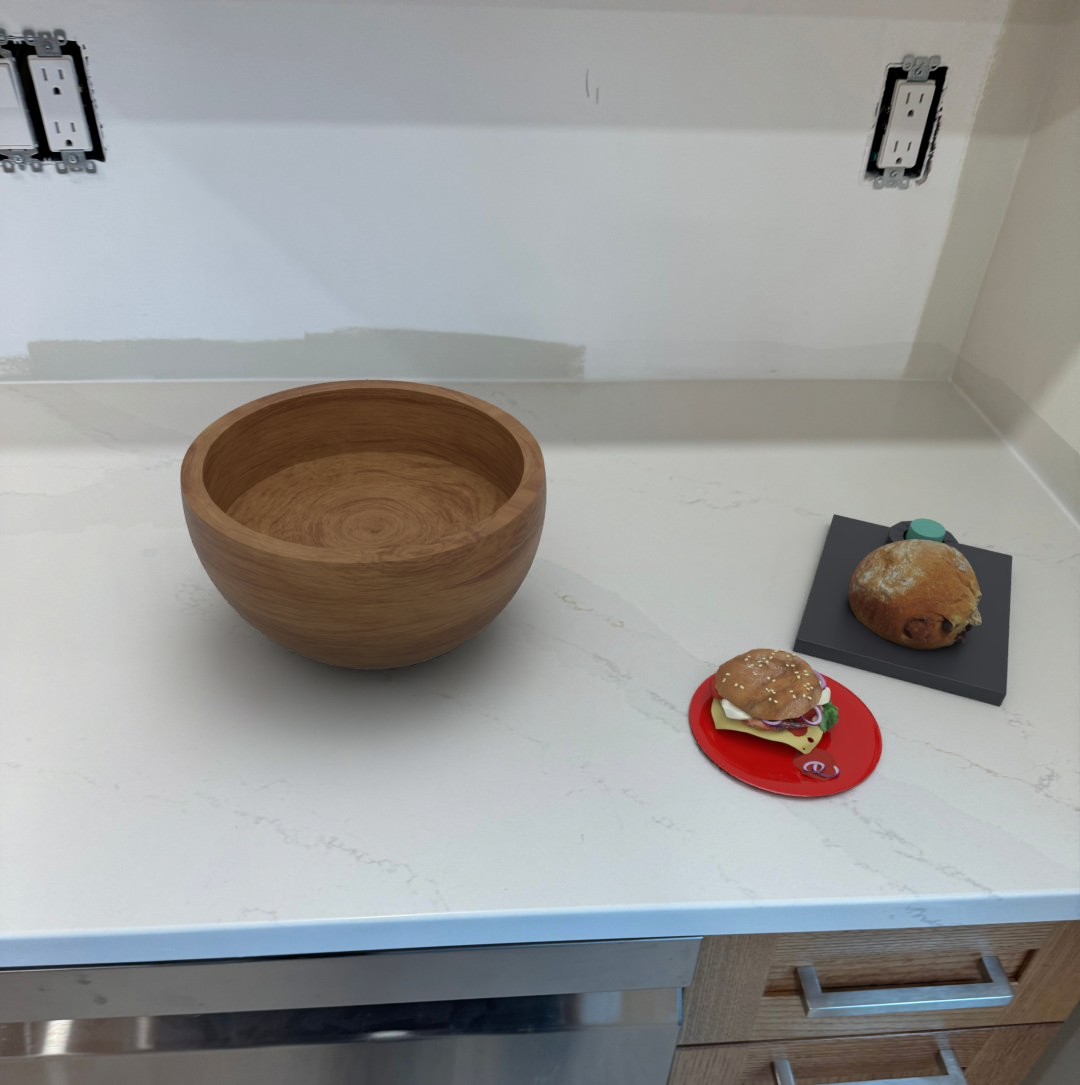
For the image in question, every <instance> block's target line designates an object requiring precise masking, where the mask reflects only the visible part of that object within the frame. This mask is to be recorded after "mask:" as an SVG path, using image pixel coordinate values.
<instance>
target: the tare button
mask: <svg viewBox="0 0 1080 1085" xmlns="http://www.w3.org/2000/svg"><path fill="white" fill-rule="evenodd" d="M911 521H912V522H911V524H910V527H909V529H908V532H907V535H906V538H905V539H906V540H912V539H919V540H931V541H935V542H940V543H942V541H943V538H944V536H945V533H946V530H947V529H946V528H945V527H944V525H943V524H941V523H940V522H938V521H936V520H934V519H930V518H923V517H922V518H915V519H913V520H911Z"/></svg>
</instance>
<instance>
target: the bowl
mask: <svg viewBox="0 0 1080 1085" xmlns="http://www.w3.org/2000/svg"><path fill="white" fill-rule="evenodd" d="M179 472H180V474H179V476H180V478H179V479H180V496H181V504H182V510H183V516H184V520H185V524H186V527H187V530H188V535H189V537H190V540H191V543H192V545H193V548H194V551H195V553H196V555H197V558H198V559H199V561H200V562H199V563H201V565H202V567H203V569H204V571H205V573H206V575H207V576H208V578H209V580H210V581H211V582H212V584H213V585H214V587H215V589H216V590H217V591H218V592H219V594H220V595H221V596H222V597H223V599H224V600H225V601H226V602H227V604H228V605H229V607H231V608H232V609H233V610H234V611H235V612H236V613H237V614H238V615H239V616H240V617H241V618H242V619H243V620H244V621H246V623H247V624H249V626H251V627H252V628H254V629H255V630H256V631H257V632H259V633H260V634H262V635H263V636H264V637H265V638H267V639H269V640H270V641H272V642H273V643H275V644H277V645H279V646H281V647H282V648H283V649H286V650H288V651H290V652H292V653H294V654H296V655H298V656H302V657H303V658H307V659H308V660H312V661H315V662H318V663H320V664H321V663H322V664H326V665H330V666H333V667H338V668H339V667H340V668H345V669H347V668H348V669H355V670H388V669H389V670H390V669H398V668H403V667H408V666H413V665H416V664H420V663H424V662H426V661H430V660H432V659H435V658H439V657H441V656H443V655H445V654H447V653H449V652H450V651H453V650H455V649H457V648H459V647H460V646H462V645H464V644H465V643H467V642H468V641H470V640H471V639H472V638H474V637H475V636H477V635H479V633H481V632H482V631H483V630H484V629H485V628H486V627H488V626H489V625H490V624H491V623H492V622H493V621H494V620H495V619H496V618H498V616H499V615H500V614H501V613H502V612H503V611H504V610H505V609H506V607H507V606H508V605H509V603H510V602H511V601H512V600H513V599H514V597H515V595H516V594H517V592H518V591H519V589H520V587H521V586H522V584H523V582H524V581H525V579H526V577H527V575H528V573H529V571H530V569H531V567H532V565H533V562H534V560H535V557H536V554H537V551H538V550H539V545H540V542H541V537H542V535H543V529H544V525H545V520H546V519H545V518H546V510H547V492H548V491H547V489H548V488H547V473H546V465H545V458H544V455H543V451H542V449H541V446H540V444H539V443H538V441H537V439H536V438H535V436H534V435H533V434H532V432H531V431H530V430H529V429H528V428H527V427H526V426H525V425H524V424H523V423H522V422H521V421H519V420H518V419H517V418H516V417H514V416H513V415H512V414H511V413H508V412H507V411H505V410H504V409H502V408H501V407H498V406H497V405H495V404H493V403H491V402H489V401H486V400H484V399H481V398H479V397H476V396H473V395H471V394H469V393H464V392H461V391H458V390H454V389H451V388H447V387H443V386H437V385H433V384H428V383H427V384H426V383H421V382H413V381H405V380H404V381H403V380H394V379H349V380H338V381H337V380H335V381H327V382H320V383H319V382H318V383H313V384H308V385H302V386H298V387H297V386H296V387H293V388H289V389H285V390H281V391H278V392H274V393H271V394H267V395H265V396H261V397H259V398H257V399H254V400H252V401H251V400H250V401H249V402H247V403H244V404H242V405H241V406H240V405H239V406H238V407H236V408H234V409H232V410H230V411H228V412H227V413H225V414H223V415H221V416H220V417H218V418H217V419H215V420H214V421H212V423H210V424H209V425H208V426H207V427H205V428H204V429H203V430H202V431H201V432H200V433H199V434H198V435H197V436H196V438H194V440H193V441H192V442H191V444H190V445H189V447H188V448H187V450H186V452H185V454H184V456H183V459H182V461H181V466H180V471H179Z"/></svg>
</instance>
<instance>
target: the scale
mask: <svg viewBox="0 0 1080 1085" xmlns="http://www.w3.org/2000/svg"><path fill="white" fill-rule="evenodd" d="M912 521H913V520H902V521H898V522H897V523H895V524H893V525H891V526H887V525H882V524H878V523H874V522H869V521H865V520H861V519H857V518H853V517H848V516H844V515H839V514H837V513H836V514H835V513H833V514H832V517H831V522H830V525H829V529H828V532H827V535H826V538H825V541H824V544H823V548H822V552H821V554H820V558H819V562H818V565H817V568H816V571H815V575H814V577H813V582H812V585H811V587H810V591H809V594H808V597H807V601H806V604H805V608H804V611H803V614H802V616H801V617H802V618H801V621H800V624H799V628H798V630H797V634H796V637H795V641H794V644H793V647H792V650H791V651H792V652H794V653H796V654H801V655H805V656H809V657H813V658H817V659H820V660H823V661H826V662H827V661H828V662H831V663H835V664H838V665H843V666H847V667H850V668H854V669H856V670H860V671H861V670H862V671H865V672H868V673H873V674H876V675H880V676H883V677H888V678H891V679H893V680H899V681H902V682H906V683H909V684H912V685H913V684H914V685H917V686H921V687H924V688H928V689H932V690H935V691H939V692H943V693H946V694H951V695H955V696H958V697H963V698H965V699H969V700H973V701H977V702H981V703H984V704H988V705H992V706H994V707H1001V705H1002V704H1003V702H1004V700H1005V698H1006V696H1007V694H1008V693H1007V691H1008V690H1007V689H1008V670H1009V668H1008V666H1009V644H1010V621H1011V600H1012V599H1011V597H1012V596H1011V595H1012V578H1013V577H1012V576H1013V574H1012V572H1013V570H1012V569H1013V555H1011V554H1007V553H1003V552H998V551H993V550H990V549H986V548H981V547H977V546H972V545H968V544H964V543H960V542H959V541H958V540H957V539H956V537H955V536H954V535H953V534H952V532H950V531H949V530H947V529H945V530H946V533H945V536H944V538H943V541H942V543H944V544H946V545H948V546H951V547H954V548H955V549H956V550H958V551H959V552H960V553H962V554H963V556H964V557H965V558H966V560H967V561H968V562H969V564H970V565H971V567H972V569H973V571H974V573H975V575H976V579H977V582H978V585H979V588H980V592H981V594H982V597H981V600H980V601H979V603H978V605H977V608H978V611H979V613H980V616H981V621H982V624H981V625H978V626H974V625H973V627H972V629H971V630H970V631H969V632H966V634H967V635H966V637H967V638H966V642H964V643H961V642H960V641H959V642H955V643H953V644H952V645H951V646H944V647H940V648H936V649H925V650H921V649H913V648H909V647H905V646H902V645H899V644H896V643H894V642H891V641H888V640H886V639H884V638H882V637H881V636H879V635H878V634H876V633H875V632H873V631H872V630H870V629H869V628H868V627H866V626H865V625H864V624H863V623H861V622H860V621H859V620H858V619H857V618H856V616H855V615H854V613H853V611H852V609H851V606H850V603H849V598H848V588H849V582H850V579H851V576H852V574H853V572H854V570H855V569H856V567H857V566H858V564H859V563H860V562H861V561H862V560H863V559H864V558H865V557H866V556H867V555H868V554H869V553H871V552H873V551H874V550H876V549H878V548H879V547H882V546H884V545H886V544H890V543H894V542H897V541H904V540H906V539H905V538H906V535H907V532H908V529H909V527H910V524H911V522H912Z"/></svg>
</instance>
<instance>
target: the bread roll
mask: <svg viewBox="0 0 1080 1085" xmlns="http://www.w3.org/2000/svg"><path fill="white" fill-rule="evenodd" d="M981 597H982V594H981V592H980V588H979V585H978V582H977V579H976V575H975V573H974V571H973V569H972V567H971V565H970V564H969V562H968V561H967V560H966V558H965V557H964V556H963V554H962V553H960V552H959V551H958V550H956V549H955V548H954V547H951V546H948V545H946V544H944V543H940V542H935V541H931V540H919V539H912V540H904V541H897V542H894V543H890V544H886V545H884V546H882V547H879V548H878V549H876V550H874V551H873V552H871V553H869V554H868V555H867V556H866V557H865V558H864V559H863V560H862V561H861V562H860V563H859V564H858V566H857V567H856V569H855V570H854V572H853V574H852V576H851V579H850V582H849V588H848V598H849V603H850V606H851V609H852V611H853V613H854V615H855V616H856V618H857V619H858V620H859V621H860V622H861V623H863V624H864V625H865V626H866V627H868V628H869V629H870V630H872V631H873V632H875V633H876V634H878V635H879V636H881V637H882V638H884V639H886V640H888V641H891V642H894V643H896V644H899V645H902V646H905V647H909V648H913V649H921V650H925V649H936V648H940V647H944V646H951V645H952V644H953V643H955V642H959V641H960V642H961V643H964V642H966V638H967V637H966V635H967V634H966V632H969V631H970V630H971V629H972V627H973V625H974V626H978V625H981V624H982V621H981V616H980V613H979V611H978V608H977V605H978V603H979V601H980V600H981Z"/></svg>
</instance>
